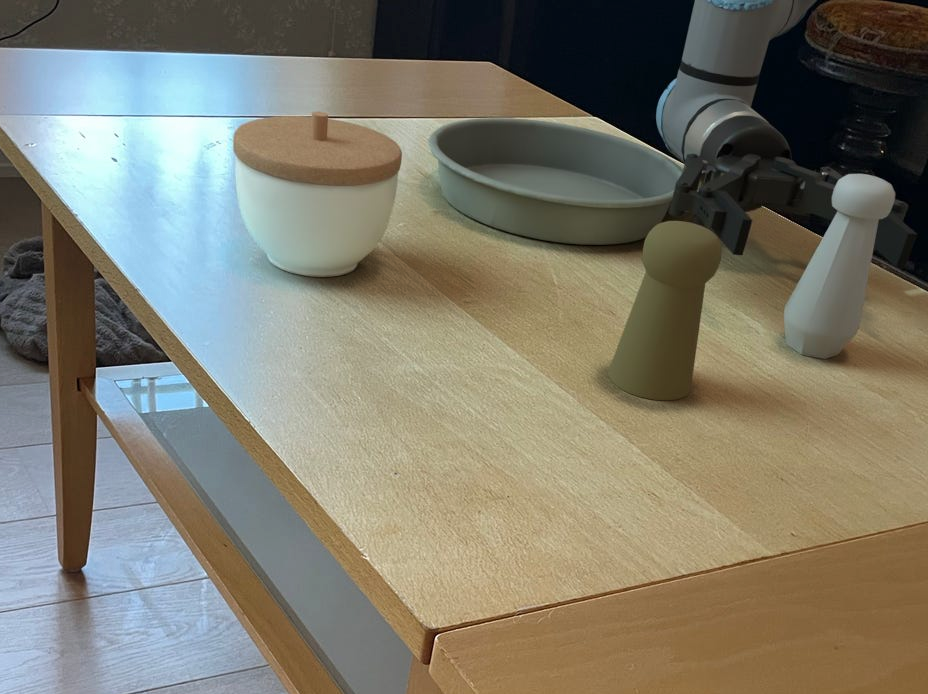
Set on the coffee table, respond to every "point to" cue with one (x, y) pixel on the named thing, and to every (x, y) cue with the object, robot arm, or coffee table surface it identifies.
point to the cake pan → (553, 180)
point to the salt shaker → (838, 270)
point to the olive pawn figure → (666, 312)
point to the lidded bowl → (315, 190)
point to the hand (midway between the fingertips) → (826, 244)
